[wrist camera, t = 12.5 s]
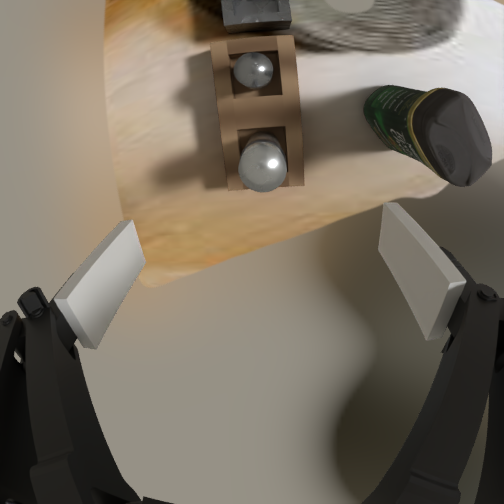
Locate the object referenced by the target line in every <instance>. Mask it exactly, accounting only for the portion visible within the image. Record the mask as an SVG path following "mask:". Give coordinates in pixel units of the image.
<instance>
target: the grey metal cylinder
mask: <svg viewBox="0 0 504 504" xmlns="http://www.w3.org/2000/svg"><path fill="white" fill-rule="evenodd" d="M238 172H239V176H240V179H241V180H242V182H243V183H244V184H245V185H246V186H247V187H248V188H249V189H251V190H254V191H257V192H269V191H272V190H274V189H276V188H277V187H279V186H280V185H281V184H282V182H283V181H284V179H285V177H286V172H287V167H286V158H285V154H284V152H283V150H282V148H281V147H280V144H279V141H278V139H277V137H276V136H275V135H274V134H272V133H271V132H268V131H259V132H256V133H254V134H253V135H252V136H251V137H250V138H249V140H248V142H247V145H246V146H245V148H244V149H243V151H242V153H241V156H240V161H239V167H238Z"/></svg>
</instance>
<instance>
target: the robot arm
mask: <svg viewBox="0 0 504 504" xmlns="http://www.w3.org/2000/svg"><path fill="white" fill-rule="evenodd" d="M378 250H379V252H380V254H381V255H382V257H383V259H384V260H385V262H386V264H387V265H388V267H389V269H390V271H391V272H392V274H393V276H394V278H395V280H396V281H397V283H398V285H399V287H400V289H401V291H402V292H403V294H404V296H405V298H406V300H407V302H408V304H409V306H410V308H411V310H412V312H413V314H414V316H415V318H416V320H417V322H418V324H419V326H420V328H421V330H422V332H423V334H424V337H425V339H426V341H427V340H432V339H437V338H441V337H442V336H443V334H444V332H445V330H446V328H447V326H448V328H449V330H450V332H451V335H450V337H449V339H448V341H447V342H446V344H445V346H444V348H443V350H442V353H444V354H443V357H442V359H441V362H440V365H439V368H438V371H437V373H436V376H435V378H434V381H433V384H432V386H431V388H430V391H429V394H428V396H427V398H426V400H425V403H424V405H423V407H422V409H421V412H420V413H419V415H418V418H417V420H416V422H415V424H414V426H413V428H412V429H411V432H410V433H409V435H408V437H407V439H406V441H405V443H404V444H403V446H402V448H401V450H400V451H399V453H398V455H397V457H396V458H395V460H394V462H393V463H392V465H391V466H390V468H389V469H388V471H387V472H386V474H385V475H384V477H383V478H382V480H381V481H380V483H379V485H378V486H377V487H376V488H375V490H374V491H373V492H372V493H371V494H370V495H369V496H368V497H367V498H366V499H365V500H364V501H363V502H362V504H458V503H459V501H460V495H461V493H460V491H459V489H458V483H459V480H460V478H461V476H462V473H463V471H464V469H465V466H466V464H467V461H468V459H469V456H470V454H471V451H472V448H473V446H474V443H475V440H476V437H477V433H478V431H479V427H480V424H481V421H482V417H483V413H484V410H485V406H486V402H487V398H488V394H489V413H488V428H487V440H486V448H485V455H484V462H483V468H482V473H481V478H480V483H479V487H478V492H477V496H476V500H475V503H474V504H504V298H499V296H498V294H497V293H496V292H495V291H494V290H493V289H492V288H491V287H489V286H487V285H484V284H476V283H475V281H474V280H473V279H472V278H471V276H470V275H469V274H468V272H467V271H466V270H465V269H464V267H462V265H461V264H460V263H459V262H458V261H457V259H456V258H455V257H454V256H453V255H452V254H451V252H449V251H448V250H446V249H445V248H443V247H438V245H437V244H436V243H435V242H434V241H433V240H432V239H431V238H430V237H429V235H428V234H427V233H426V232H425V231H424V230H423V229H422V228H421V227H420V226H419V225H418V224H417V223H416V222H415V220H414V219H413V218H412V217H411V216H410V215H409V214H408V213H407V212H406V211H405V210H404V209H403V208H402V207H401V206H400V205H399V204H398V203H384V206H383V216H382V224H381V232H380V240H379V247H378ZM145 263H146V261H145V258H144V255H143V252H142V249H141V246H140V243H139V239H138V236H137V233H136V230H135V226H134V223H133V220H126V221H121V222H120V223H119V224H118V225H117V226H116V227H115V228H114V229H113V230H112V231H111V232H110V233H109V234H108V235H107V236H106V238H105V239H104V240H103V241H102V242H101V243H100V244H99V245H98V246H97V247H96V248H95V249H94V251H93V252H92V253H91V254H90V255H89V256H88V257H87V258H86V260H85V261H84V262H83V263H82V264H81V265H80V267H79V268H78V269H77V270H76V271H75V272H74V273H73V274H72V275H71V276H70V278H69V279H68V280H67V282H65V284H64V285H63V287H61V289H60V290H59V291H58V292H57V294H56V295H55V296H54V298H53V299H52V300H51V301H50V303H48V301H47V299H46V298H45V296H44V294H43V292H42V290H41V289H40V288H39V287H33V288H31V289H29V290H27V291H26V292H25V293H23V294H22V295H21V296H20V298H19V299H18V302H17V303H18V305H19V307H20V308H21V310H22V311H23V313H24V315H25V316H26V318H22V319H21V318H20V316H19V315H18V313H17V312H16V311H15V310H13V311H9V312H6V313H5V314H4V315H3V316H2V318H1V319H0V504H173V503H168V502H164V501H159V500H155V499H151V498H147V497H143V501H141V499H140V498H139V496H138V495H137V494H136V492H135V491H134V490H133V489H132V488H131V487H130V486H129V485H128V484H127V483H126V481H125V480H124V479H123V477H122V475H121V473H120V471H119V469H118V467H117V465H116V463H115V461H114V458H113V456H112V454H111V452H110V449H109V447H108V445H107V442H106V440H105V438H104V435H103V432H102V430H101V427H100V424H99V422H98V419H97V416H96V413H95V410H94V407H93V404H92V401H91V398H90V395H89V391H88V388H87V385H86V381H85V377H84V374H83V370H82V366H81V362H80V358H79V353H78V349H77V347H76V346H75V345H74V343H75V341H76V339H77V338H78V340H79V341H80V343H81V344H82V346H83V347H84V348H90V349H97V347H98V345H99V344H100V342H101V340H102V338H103V336H104V334H105V332H106V330H107V328H108V327H109V325H110V323H111V321H112V319H113V318H114V316H115V314H116V312H117V310H118V309H119V306H120V305H121V303H122V302H123V300H124V298H125V296H126V295H127V293H128V291H129V290H130V288H131V286H132V285H133V283H134V281H135V280H136V278H137V276H138V275H139V273H140V271H141V270H142V268H143V266H144V265H145ZM14 351H15V352H16V353H17V354H18V356H19V357H20V358H21V362H20V363H19V362H18V361H17V360H16V359H15V357H14Z"/></svg>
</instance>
